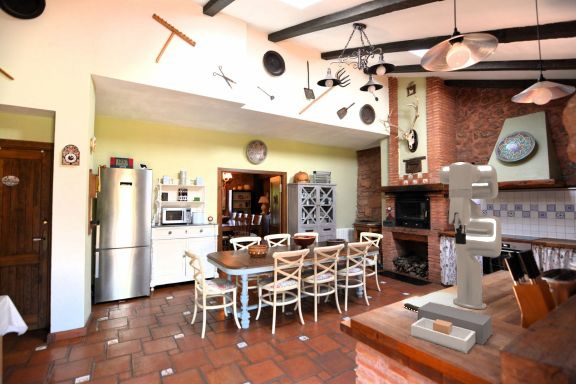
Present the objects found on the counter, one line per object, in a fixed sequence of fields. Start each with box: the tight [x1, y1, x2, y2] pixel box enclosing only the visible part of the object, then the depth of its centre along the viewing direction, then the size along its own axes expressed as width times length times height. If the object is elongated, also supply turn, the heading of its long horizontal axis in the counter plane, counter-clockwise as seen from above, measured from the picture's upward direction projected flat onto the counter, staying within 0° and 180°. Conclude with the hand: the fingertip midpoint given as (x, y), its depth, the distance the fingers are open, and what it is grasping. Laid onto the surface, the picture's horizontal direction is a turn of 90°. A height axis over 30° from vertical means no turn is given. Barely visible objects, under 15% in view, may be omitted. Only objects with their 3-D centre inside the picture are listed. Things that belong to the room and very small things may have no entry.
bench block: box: [417, 301, 493, 346], centre depth 103 cm, size 12×20×6 cm, turn 45°
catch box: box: [410, 318, 477, 354], centre depth 95 cm, size 10×16×4 cm, turn 45°
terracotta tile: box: [433, 319, 452, 335], centre depth 94 cm, size 4×4×2 cm
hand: (460, 243), depth 111 cm, fingers closed
